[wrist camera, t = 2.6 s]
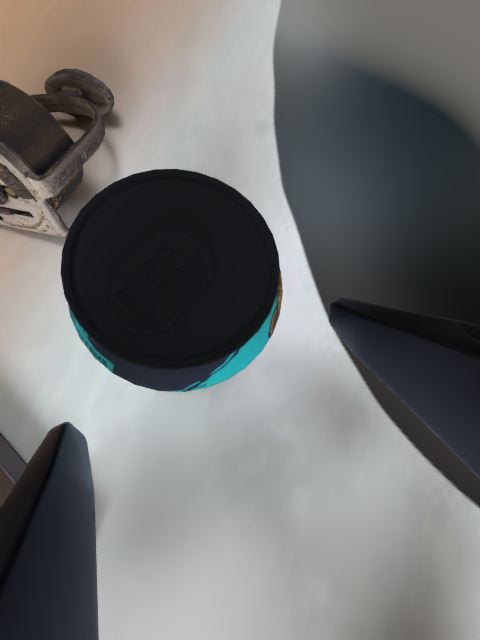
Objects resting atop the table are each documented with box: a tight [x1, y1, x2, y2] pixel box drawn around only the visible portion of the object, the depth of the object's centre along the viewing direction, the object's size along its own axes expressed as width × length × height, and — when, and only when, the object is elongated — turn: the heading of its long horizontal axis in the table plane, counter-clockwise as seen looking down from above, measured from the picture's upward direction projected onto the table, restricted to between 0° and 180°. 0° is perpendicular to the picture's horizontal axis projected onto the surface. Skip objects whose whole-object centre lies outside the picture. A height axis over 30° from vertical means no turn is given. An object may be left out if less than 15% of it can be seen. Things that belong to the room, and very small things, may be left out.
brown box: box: [0, 435, 27, 506], centre depth 15 cm, size 11×3×2 cm, turn 43°
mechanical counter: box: [0, 69, 114, 237], centre depth 16 cm, size 7×13×10 cm
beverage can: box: [61, 169, 283, 392], centre depth 13 cm, size 7×7×12 cm
